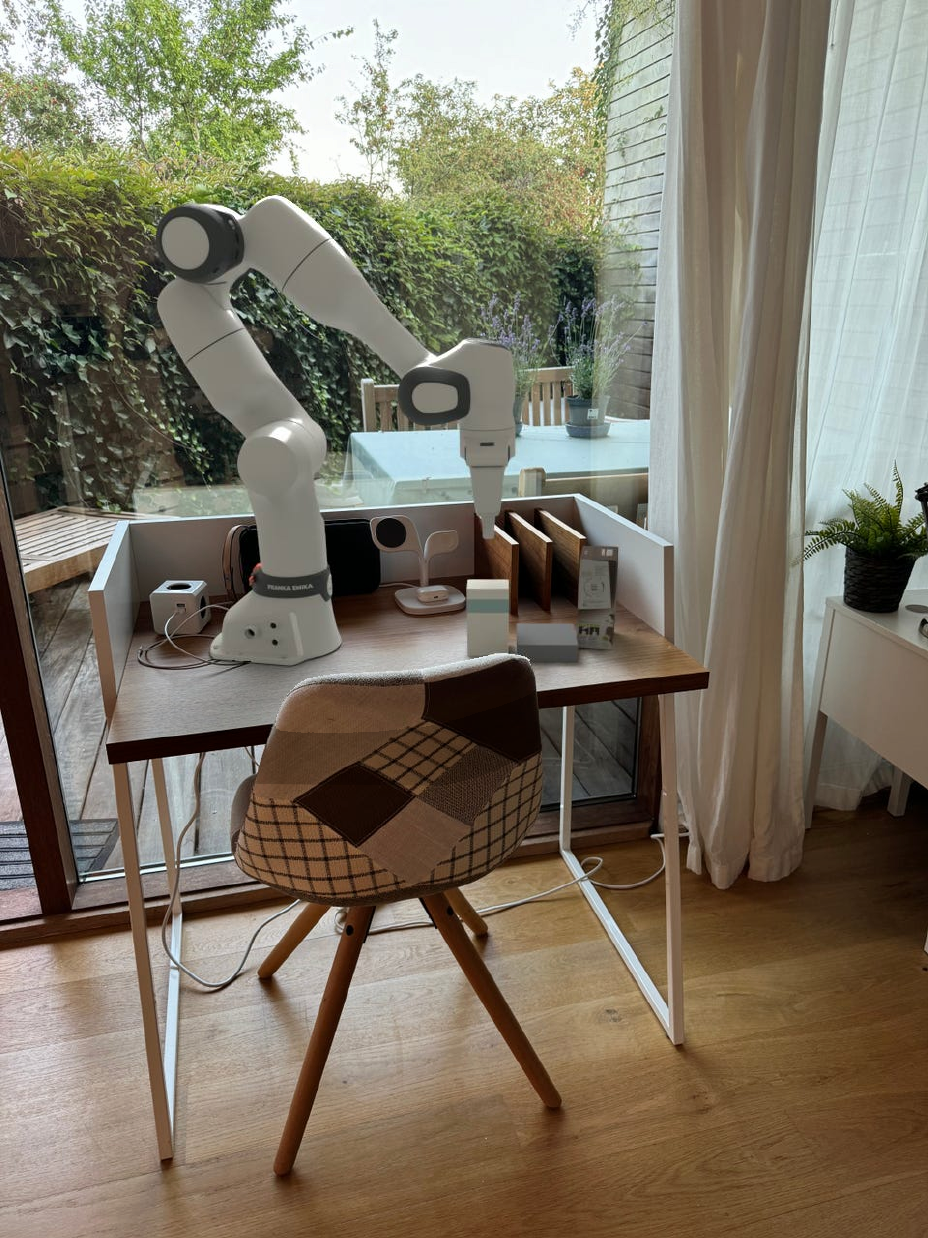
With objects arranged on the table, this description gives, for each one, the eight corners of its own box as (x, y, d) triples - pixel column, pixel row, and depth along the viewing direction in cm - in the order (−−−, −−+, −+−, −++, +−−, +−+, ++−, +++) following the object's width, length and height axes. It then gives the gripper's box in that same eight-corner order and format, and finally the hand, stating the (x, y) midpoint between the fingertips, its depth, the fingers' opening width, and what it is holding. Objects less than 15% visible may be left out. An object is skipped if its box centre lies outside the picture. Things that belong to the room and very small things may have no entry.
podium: (517, 661, 147) (517, 645, 146) (516, 639, 156) (516, 623, 155) (577, 661, 146) (578, 645, 145) (572, 639, 156) (573, 623, 155)
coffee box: (612, 650, 151) (617, 560, 145) (575, 648, 152) (578, 558, 146) (615, 631, 159) (619, 545, 153) (579, 629, 160) (582, 544, 155)
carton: (467, 655, 149) (466, 589, 145) (468, 644, 154) (467, 579, 150) (508, 656, 149) (509, 589, 145) (508, 644, 154) (508, 579, 150)
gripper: (469, 435, 149) (471, 514, 154) (465, 457, 130) (467, 547, 135) (507, 434, 149) (507, 514, 154) (508, 456, 130) (508, 546, 135)
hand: (489, 530), depth 144 cm, fingers open, 8 cm apart
